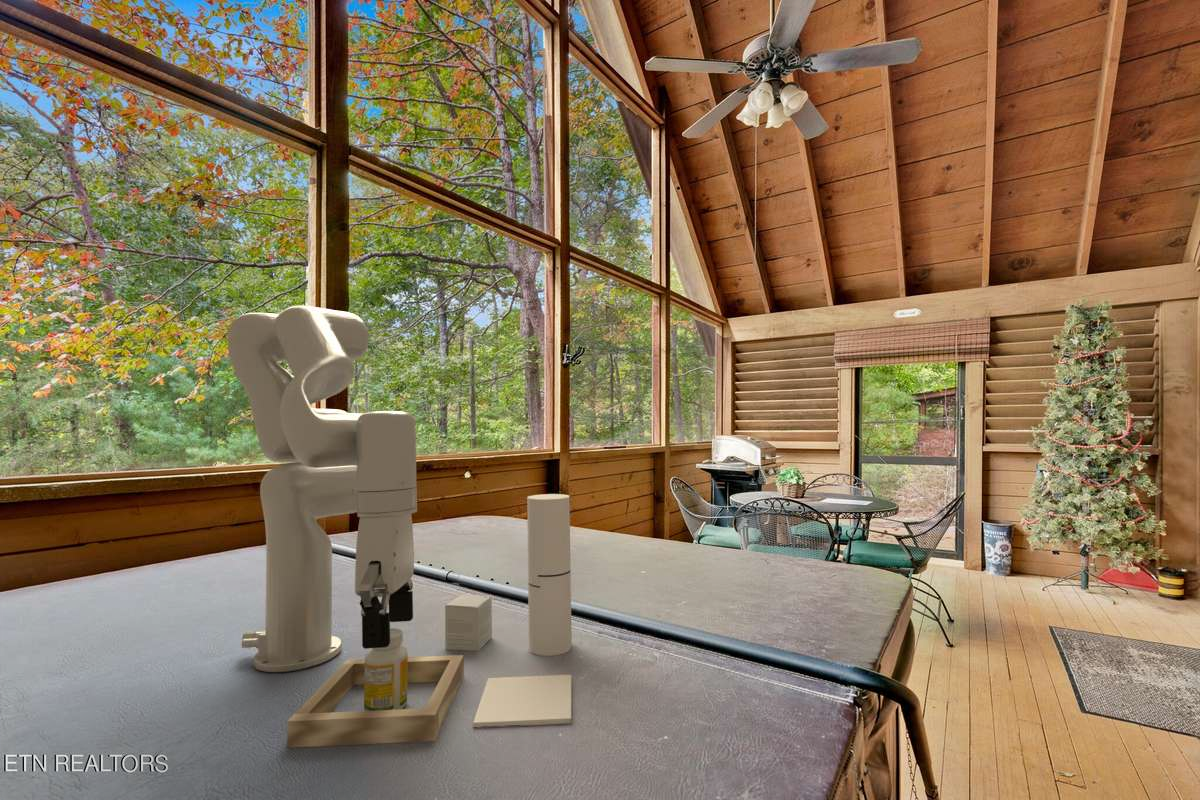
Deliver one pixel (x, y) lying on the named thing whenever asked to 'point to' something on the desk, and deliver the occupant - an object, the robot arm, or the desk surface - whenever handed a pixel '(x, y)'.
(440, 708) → the wooden square frame
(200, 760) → the desk surface
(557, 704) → the pad
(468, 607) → the product box
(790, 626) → the desk surface
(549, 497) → the cylindrical container
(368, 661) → the supplement bottle
